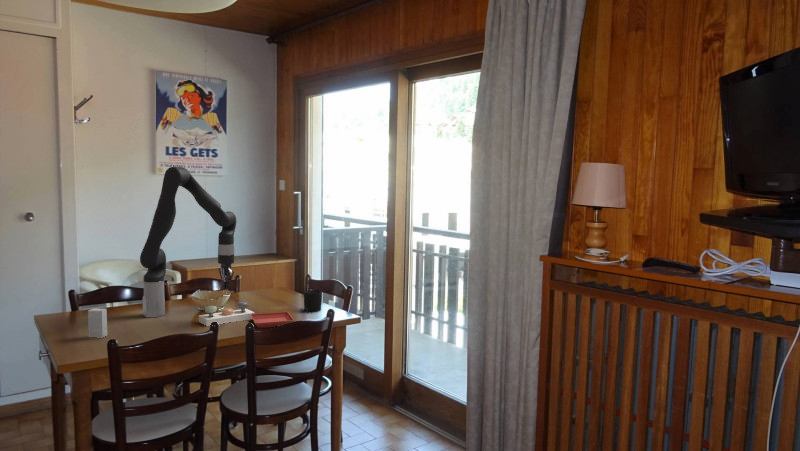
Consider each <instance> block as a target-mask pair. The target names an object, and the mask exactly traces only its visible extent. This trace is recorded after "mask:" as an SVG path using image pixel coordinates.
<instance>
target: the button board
mask: <svg viewBox="0 0 800 451" xmlns="http://www.w3.org/2000/svg"><path fill="white" fill-rule="evenodd" d="M251 314H256V313H255V312H254V311H252V310H251V309H248V308H245V312H243V313H241V308H239V309H233V314H230V315H223V314H222V311H221V312H213V317H209V313H207V314H201V315H198V323H200V324H201V325H203V324H204V326H205V325H206V326H205V327H211V326H210V325H211V323H212V322H218V323H219V324H218V325H224V324H223V323H225V324H230V323H229V322H231V323H236V321H237V322H242V321H243V320H244V321H249V320H253V318H252V316H251Z"/></svg>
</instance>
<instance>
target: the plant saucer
mask: <svg viewBox="0 0 800 451" xmlns="http://www.w3.org/2000/svg"><path fill="white" fill-rule="evenodd" d="M251 316H252V318H253V319H252V320H253V322H254V324H255V326H256V327H257V328H258V329H262V328H275V326H278V325H282V324H286V323H290V322H292V323H293V322H294V321H295V319H294V318H293V317H292V315H291V314H290V313H289V311H280V312H279V311H278V312H266V313H265V312H262V313H255V314H251Z"/></svg>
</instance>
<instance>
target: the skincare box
mask: <svg viewBox="0 0 800 451" xmlns="http://www.w3.org/2000/svg"><path fill="white" fill-rule="evenodd" d="M87 320H88V322H87V323H88V329H87V330H88V338H89V337H97V338H96V339H104V338H105V336H106V337H107V336H108V313H107V308H91V309H89V310H87ZM103 337H104V338H103Z"/></svg>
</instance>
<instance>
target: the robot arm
mask: <svg viewBox="0 0 800 451" xmlns="http://www.w3.org/2000/svg"><path fill="white" fill-rule="evenodd" d="M179 187H182V188H183V189H185V190H186V191H188V193H190V194H191V195H192V197H193V198H194V200H195V202H196V203H197V204H198V206H200V207H201V208H202V209H203V210H204V211H205V212H206V213H208V214H209V216H210V217H211V219H212V220H213V221H214V222H215V224H216V225H217V226H220V227H222V228H221V230H220V232H219V233H218V236H217V237H218V238H217V239H218V246H217V264H219V265H220V268H219V267H218V273H219V277H220V279H221V281H222V284H223V285H222V289H223V290H229V288H230V282H231V281H232V279H233V277H234V271H232V270H233V269H232V264H234V263H235V242H234V241H235V237H234V236H235V232H236V227H237V216H236V214H235V213H234V212H233V211H229V210H228V211H224V209H222V208H221V207H222V206H221V203H220V202H219V201H218V200H216V198H214V197H213V196H212V195H211V194H210V193H209V192H208V191H207V190H206V189H205V188H203V186H202V185H201V184H200V183H199V182H198V181H197V180H196V178H194V176H193V175H192V174H191V172H190V171H189V170H188V169H187V168H185V167H184V166H183V167H182V166H171V167H168V168H167V169H166V171H165V172H164V175H163V180H162V185H161V191H160V195H159V199H158V202H157V205H156V209H155V212H154V214H153V218H152V223H151V225H150V228H149V232H148V236H147V239H146V241H145V242H144V246H143V248H142V250H141V251H140V252H141V253H140V256H139V261H140V264H141V267H143V268H146V269H147V271H146V272H145V274H144V275H143V296H142V316H143V317H145V318H157V317H162V316H165V312H166V311H165V276H166V273H167V271H166V270H167V255H166V252H165V251H164V250H163V249H162V248H161V246H162V243H163V241H164V239H165V238H166V237H167V235H168V234H169V232H170V231H171V230H172V227H173V225H174V222H175V219H176V216H177V215H176V214H177V207H176V196H177V192H178V189H179Z"/></svg>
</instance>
